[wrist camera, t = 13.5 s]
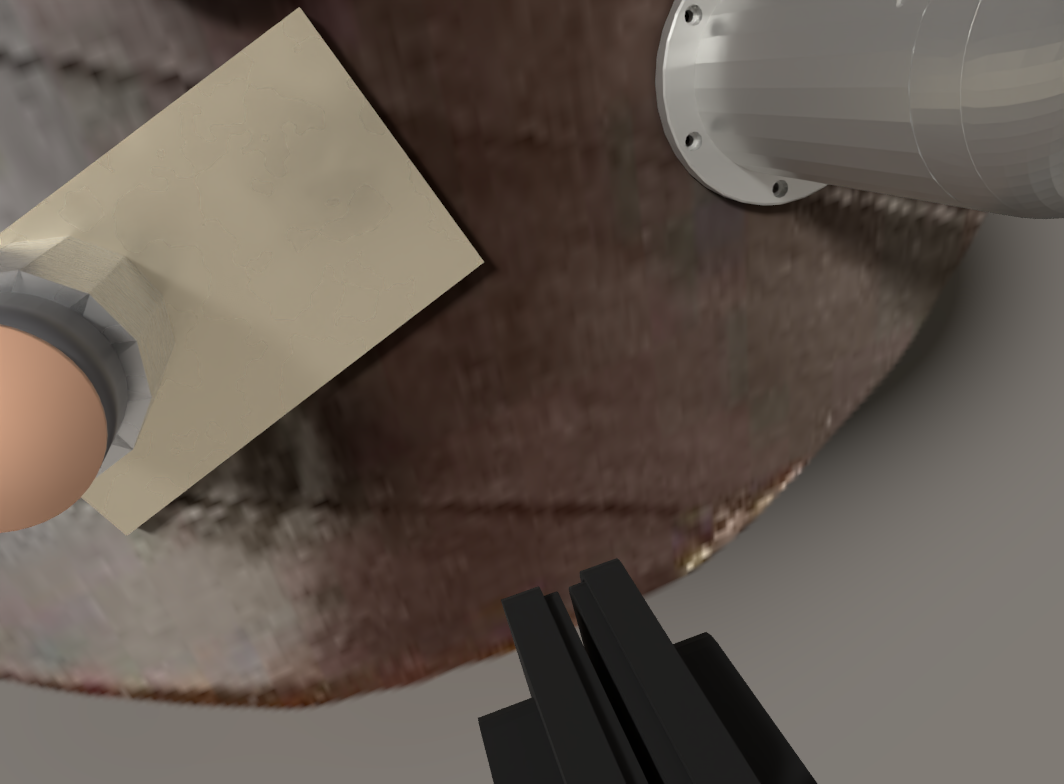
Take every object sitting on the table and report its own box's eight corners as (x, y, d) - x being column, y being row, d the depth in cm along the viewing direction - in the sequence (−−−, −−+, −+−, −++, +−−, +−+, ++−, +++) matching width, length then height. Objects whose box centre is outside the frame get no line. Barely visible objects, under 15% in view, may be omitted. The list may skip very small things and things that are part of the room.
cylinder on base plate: (299, 9, 34) (303, -13, 26) (479, 258, 39) (523, 295, 32) (-111, 319, 33) (-221, 382, 26) (130, 525, 39) (95, 624, 32)
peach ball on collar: (41, 235, 29) (-25, 275, 23) (179, 372, 32) (154, 441, 26) (-110, 351, 29) (-218, 423, 23) (42, 478, 32) (-16, 573, 26)
